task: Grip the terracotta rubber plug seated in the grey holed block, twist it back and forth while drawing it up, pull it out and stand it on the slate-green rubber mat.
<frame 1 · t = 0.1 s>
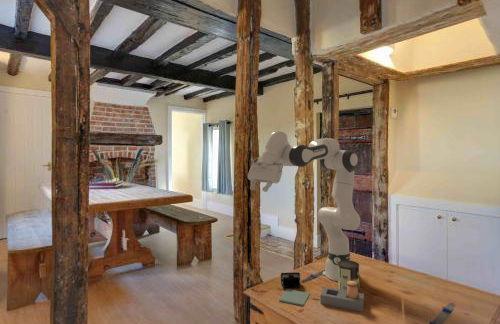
hand: (258, 190, 130), 54 cm above the table, tool tilted 30°, fingers open, 8 cm apart
mat: (295, 297, 141), on the table
coffee can: (348, 291, 146), on the table
grey holed block: (342, 304, 133), on the table
plug: (352, 304, 131), point 1 cm above the table, touching grey holed block
end cap: (290, 286, 154), on the table
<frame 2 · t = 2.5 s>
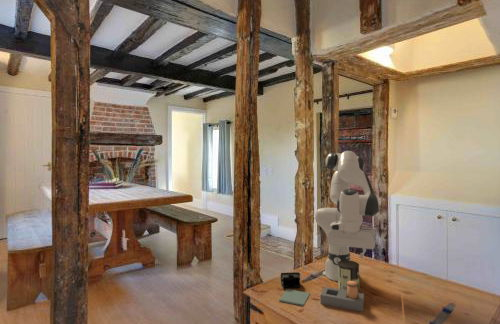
hand: (350, 256, 130), 23 cm above the table, tool pointing down, fingers open, 8 cm apart
nothing on the table moved.
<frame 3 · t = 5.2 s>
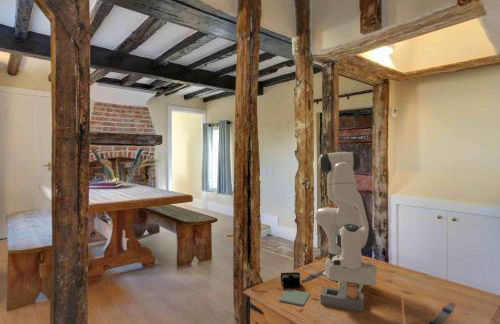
hand: (352, 291, 131), 7 cm above the table, tool pointing down, fingers closed on plug, 4 cm apart
plug: (352, 304, 131), point 1 cm above the table, touching gripper, grey holed block
everything else where it was.
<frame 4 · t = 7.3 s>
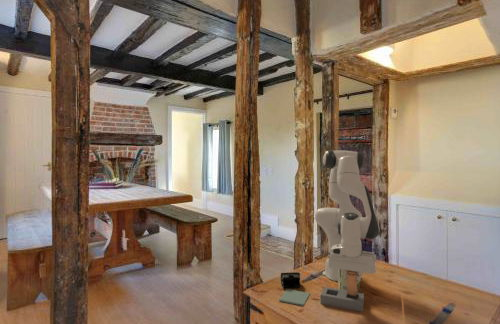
hand: (351, 279, 131), 12 cm above the table, tool pointing down, fingers closed on plug, 4 cm apart
plug: (352, 293, 131), point 6 cm above the table, touching gripper
everything else where it was.
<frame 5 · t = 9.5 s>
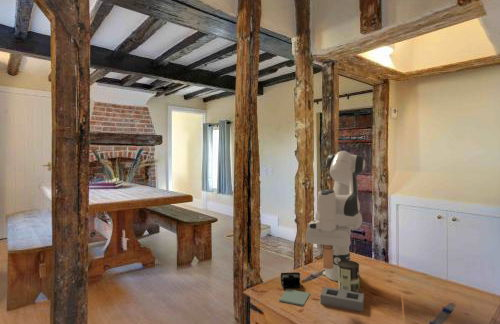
hand: (327, 254, 134), 23 cm above the table, tool pointing down, fingers closed on plug, 4 cm apart
plug: (328, 267, 134), point 17 cm above the table, touching gripper
everything else where it was.
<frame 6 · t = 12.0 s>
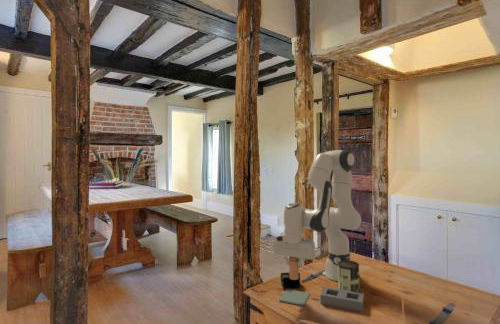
hand: (293, 265, 140), 16 cm above the table, tool pointing down, fingers closed on plug, 4 cm apart
plug: (294, 278, 140), point 10 cm above the table, touching gripper
everything else where it was.
when the fingers open (8 cm above the table, at t = 14.2 s): plug drops 1 cm, resting on mat.
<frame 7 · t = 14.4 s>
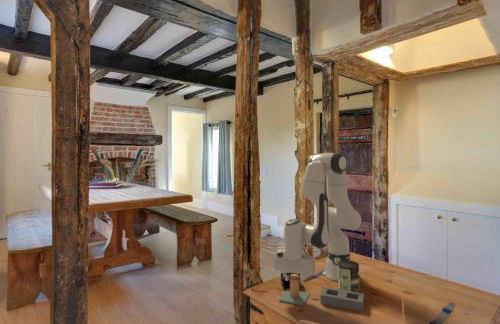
hand: (294, 281, 141), 8 cm above the table, tool pointing down, fingers open, 6 cm apart
plug: (294, 296, 141), point 1 cm above the table, touching mat
everything else where it was.
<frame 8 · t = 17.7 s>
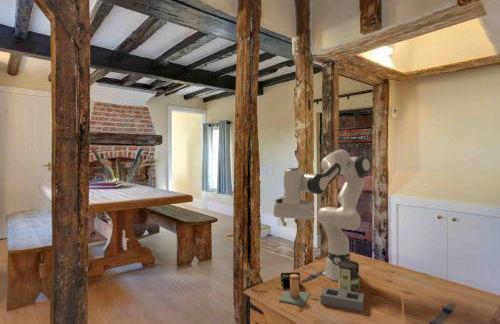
hand: (293, 226, 147), 33 cm above the table, tool pointing down, fingers open, 8 cm apart
nothing on the table moved.
at the end: plug inside the target area on the mat (0.1 cm from its centre), point 0.8 cm above the mat's base; plug tilted 1°; the gripper is holding nothing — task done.
